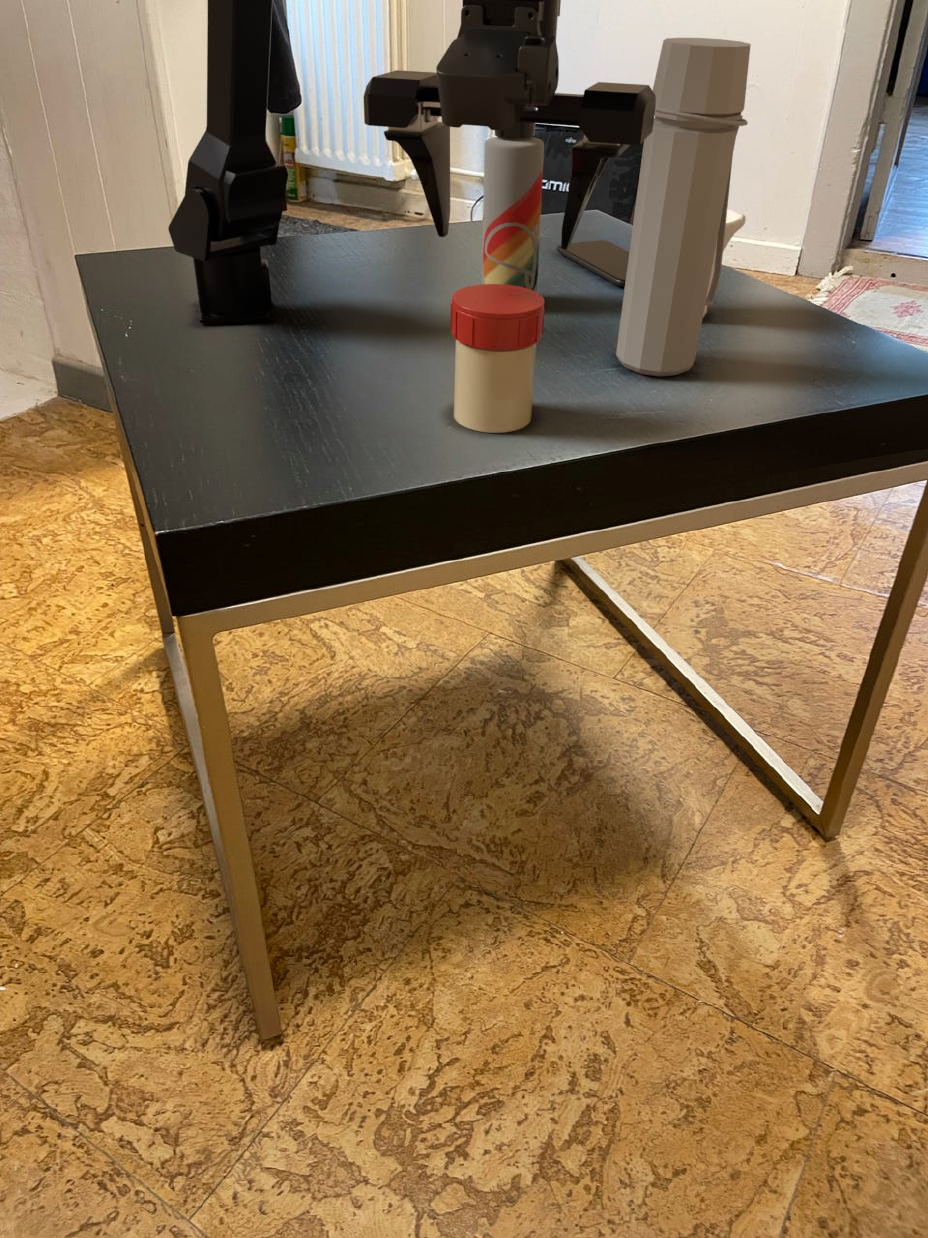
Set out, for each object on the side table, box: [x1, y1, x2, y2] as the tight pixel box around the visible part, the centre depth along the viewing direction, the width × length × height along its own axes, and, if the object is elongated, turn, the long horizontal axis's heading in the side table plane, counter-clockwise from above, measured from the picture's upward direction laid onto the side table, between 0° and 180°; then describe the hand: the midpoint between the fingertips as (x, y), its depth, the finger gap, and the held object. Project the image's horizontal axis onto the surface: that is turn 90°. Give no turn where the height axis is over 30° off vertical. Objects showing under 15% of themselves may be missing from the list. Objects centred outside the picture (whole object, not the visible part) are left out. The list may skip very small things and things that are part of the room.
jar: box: [453, 339, 538, 434], centre depth 72 cm, size 6×6×9 cm
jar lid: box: [449, 283, 546, 350], centre depth 70 cm, size 7×7×3 cm
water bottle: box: [615, 37, 752, 377], centre depth 78 cm, size 9×8×25 cm
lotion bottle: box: [481, 107, 545, 293], centre depth 92 cm, size 6×6×20 cm
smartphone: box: [555, 239, 630, 288], centre depth 108 cm, size 7×1×15 cm
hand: (503, 241), depth 67 cm, fingers open, 9 cm apart
